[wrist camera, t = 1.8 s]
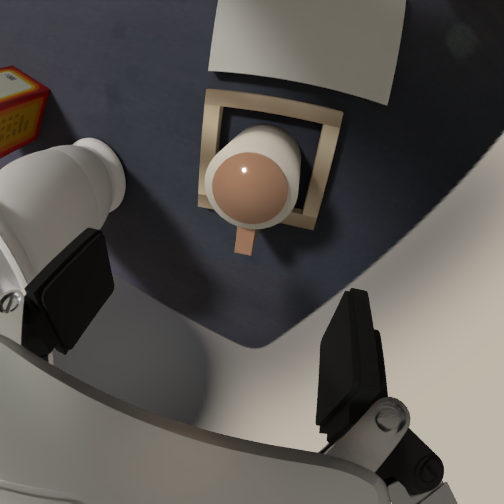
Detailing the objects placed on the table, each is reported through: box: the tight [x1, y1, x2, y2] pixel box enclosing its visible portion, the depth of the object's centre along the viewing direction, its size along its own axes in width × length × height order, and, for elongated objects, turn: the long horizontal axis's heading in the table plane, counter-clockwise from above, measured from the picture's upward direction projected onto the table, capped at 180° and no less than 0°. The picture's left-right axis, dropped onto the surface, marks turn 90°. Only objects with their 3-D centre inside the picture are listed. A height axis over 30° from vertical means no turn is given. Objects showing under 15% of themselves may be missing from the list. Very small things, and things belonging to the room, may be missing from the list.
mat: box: [208, 0, 406, 105], centre depth 14 cm, size 10×13×1 cm
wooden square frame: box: [198, 89, 343, 230], centre depth 21 cm, size 10×10×1 cm
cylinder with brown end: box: [205, 123, 301, 256], centre depth 20 cm, size 8×6×7 cm
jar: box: [0, 138, 126, 297], centre depth 19 cm, size 11×10×15 cm
